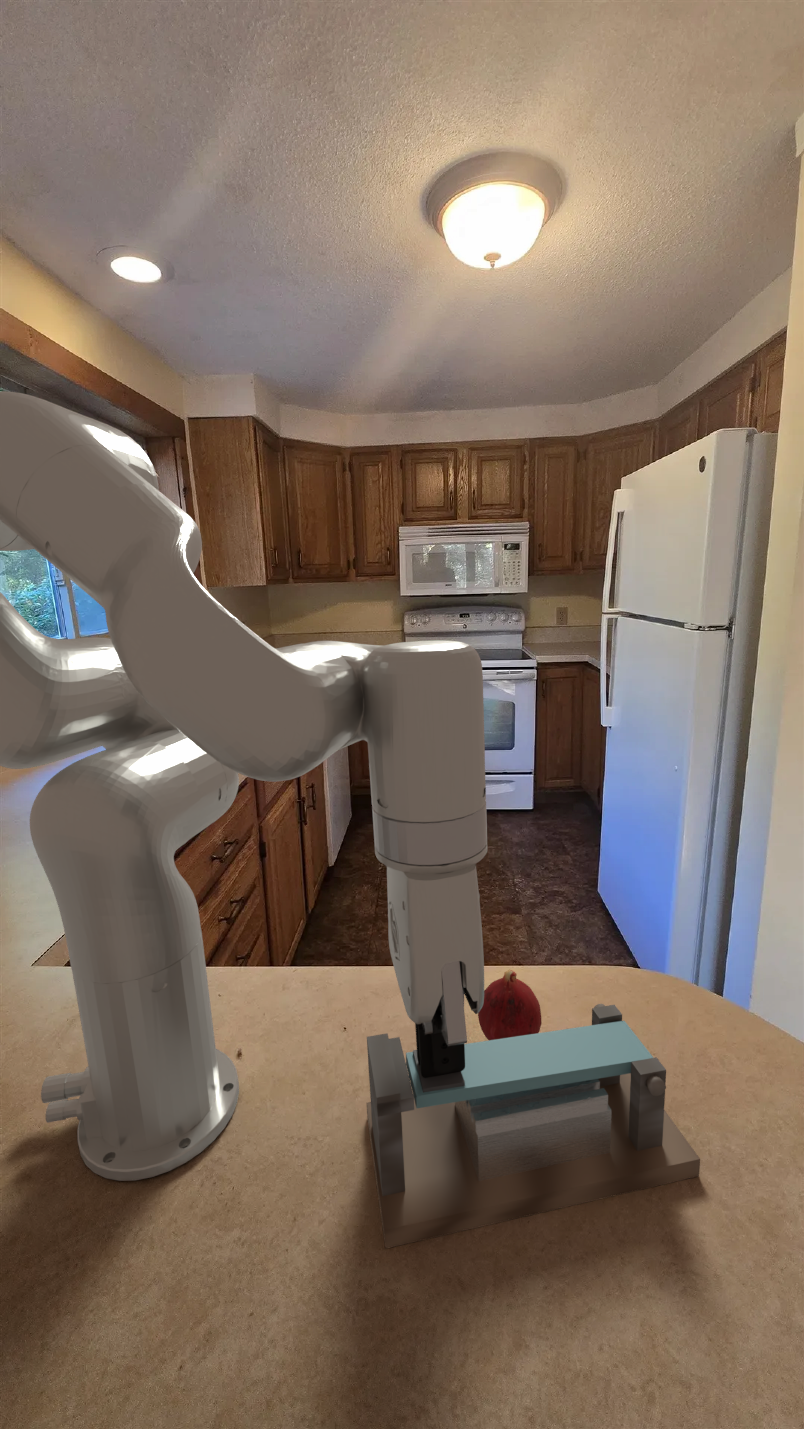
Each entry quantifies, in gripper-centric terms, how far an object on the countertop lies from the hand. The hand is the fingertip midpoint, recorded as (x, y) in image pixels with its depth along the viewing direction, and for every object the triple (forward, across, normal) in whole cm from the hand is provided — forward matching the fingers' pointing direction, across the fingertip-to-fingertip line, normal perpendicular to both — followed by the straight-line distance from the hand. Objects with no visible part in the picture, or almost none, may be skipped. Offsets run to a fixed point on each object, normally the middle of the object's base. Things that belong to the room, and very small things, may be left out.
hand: (441, 1065), depth 42 cm
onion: (+9, -10, +9) cm, 16 cm away
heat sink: (+7, 0, +7) cm, 10 cm away
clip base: (+9, 0, +6) cm, 11 cm away
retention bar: (+2, 0, +7) cm, 7 cm away
